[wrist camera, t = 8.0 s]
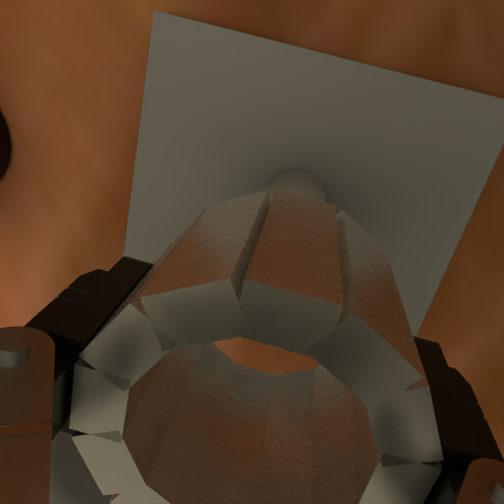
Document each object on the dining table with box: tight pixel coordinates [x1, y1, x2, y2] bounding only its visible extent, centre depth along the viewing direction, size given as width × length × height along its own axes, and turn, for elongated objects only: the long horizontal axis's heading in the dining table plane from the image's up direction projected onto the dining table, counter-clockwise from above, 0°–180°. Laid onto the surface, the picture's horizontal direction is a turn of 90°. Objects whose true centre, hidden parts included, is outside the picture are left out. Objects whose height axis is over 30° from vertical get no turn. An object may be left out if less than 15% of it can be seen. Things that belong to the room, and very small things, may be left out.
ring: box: [69, 190, 444, 504], centre depth 10 cm, size 6×6×5 cm
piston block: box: [123, 10, 504, 337], centre depth 19 cm, size 16×13×12 cm
